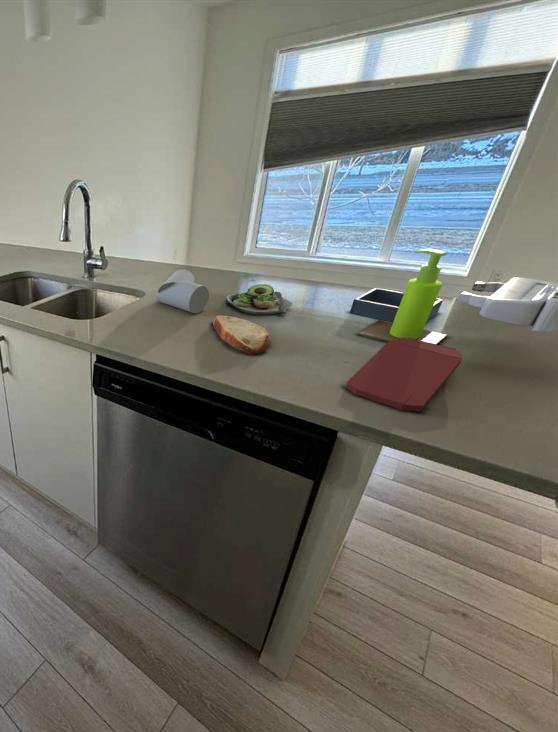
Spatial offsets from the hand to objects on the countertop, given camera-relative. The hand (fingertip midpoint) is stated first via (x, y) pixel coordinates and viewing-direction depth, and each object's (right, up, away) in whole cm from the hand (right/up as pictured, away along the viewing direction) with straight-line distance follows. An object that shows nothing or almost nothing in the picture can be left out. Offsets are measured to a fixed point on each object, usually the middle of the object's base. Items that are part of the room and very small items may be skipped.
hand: (466, 290), depth 87 cm
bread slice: (-41, -8, +20) cm, 46 cm away
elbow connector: (-47, +7, +45) cm, 65 cm away
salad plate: (-26, +4, +38) cm, 46 cm away
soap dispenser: (-3, -8, +12) cm, 15 cm away
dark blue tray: (+5, -1, +24) cm, 25 cm away
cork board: (-3, -8, +12) cm, 15 cm away
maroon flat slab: (-18, -19, -4) cm, 27 cm away
